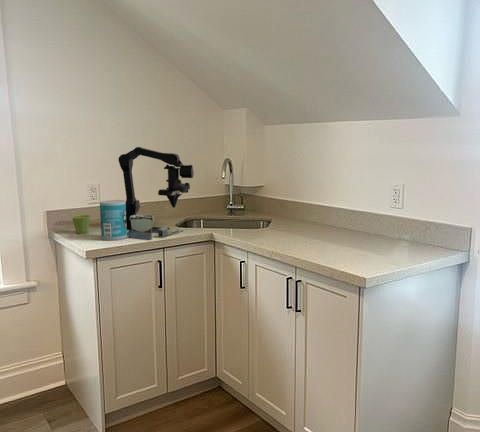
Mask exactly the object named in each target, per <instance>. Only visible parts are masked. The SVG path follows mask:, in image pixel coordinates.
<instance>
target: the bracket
mask: <svg viewBox="0 0 480 432" xmlns="http://www.w3.org/2000/svg"><path fill="white" fill-rule="evenodd" d="M161 228H167V227H164V226H154V225H152V235H151V233H144V232H135V231H132V229H131V230H127V238H131V239H138V240H139V239H140V240H145V241H146V240H148V241H151V240H153V239H152V237H153V234H158V229H161Z"/></svg>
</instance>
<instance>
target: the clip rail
mask: <svg viewBox="0 0 480 432" xmlns="http://www.w3.org/2000/svg"><path fill="white" fill-rule="evenodd" d="M178 231H179V232H178ZM180 232H181V233H184V230H179V229H177V230H174V231H172V234H169V235H168V227H166V228H161V229H158V233H157V238H161V239H163V238H166V237H170V236H173V235H177V234H180Z"/></svg>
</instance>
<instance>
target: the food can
mask: <svg viewBox="0 0 480 432" xmlns="http://www.w3.org/2000/svg"><path fill="white" fill-rule="evenodd" d="M99 214H100V215H99V217H100V232H101V233H100V234H101V235H100V236H101V240H103V241H105V242H106V241H109V242H113V241H114V242H115V241H116V242H117V241H123V240H126V239H127V238H128V230H127V223H126V200H122V199H109V200H108V199H107V200H101V201H100V202H99Z"/></svg>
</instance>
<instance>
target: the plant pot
mask: <svg viewBox="0 0 480 432" xmlns="http://www.w3.org/2000/svg"><path fill="white" fill-rule="evenodd" d="M71 219H72V221H73V225H74V230H75V234H76V235H84V234H86V235H87V234H88V233H89V232H90V229H89V228H90V219H91V215H89V214H78V215H73V216H71Z"/></svg>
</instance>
